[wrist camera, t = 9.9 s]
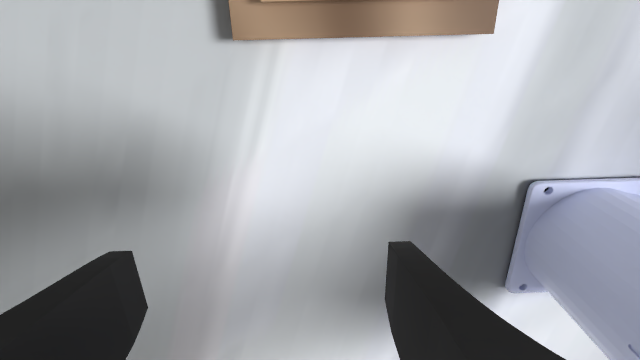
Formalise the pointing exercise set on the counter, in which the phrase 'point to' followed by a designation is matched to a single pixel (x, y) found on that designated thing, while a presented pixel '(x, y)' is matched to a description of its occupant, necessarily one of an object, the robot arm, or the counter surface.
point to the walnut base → (359, 18)
